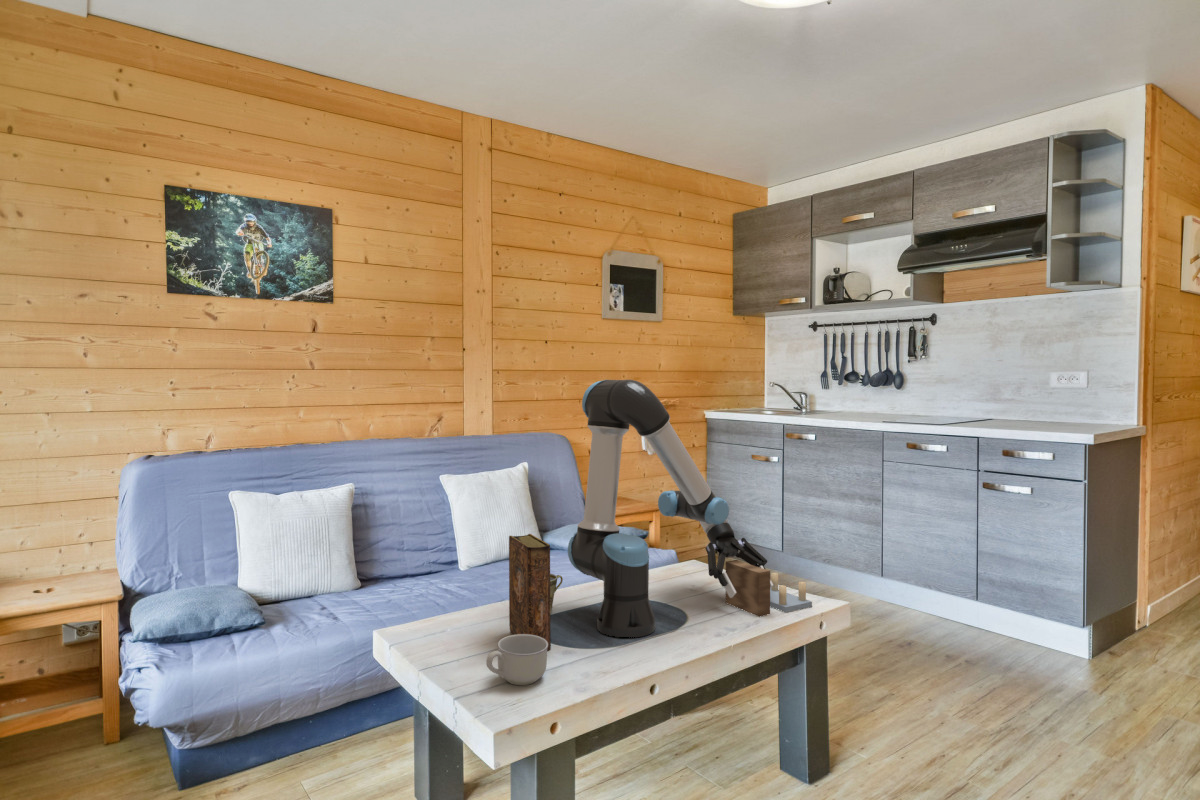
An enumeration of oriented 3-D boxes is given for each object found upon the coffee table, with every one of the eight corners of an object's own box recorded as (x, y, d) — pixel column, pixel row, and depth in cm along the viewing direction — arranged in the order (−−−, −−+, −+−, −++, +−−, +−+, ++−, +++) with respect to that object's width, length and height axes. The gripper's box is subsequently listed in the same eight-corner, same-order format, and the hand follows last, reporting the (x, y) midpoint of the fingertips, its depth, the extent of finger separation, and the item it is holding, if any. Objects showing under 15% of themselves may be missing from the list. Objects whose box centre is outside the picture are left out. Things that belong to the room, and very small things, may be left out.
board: (725, 603, 200) (725, 561, 199) (736, 600, 202) (736, 560, 201) (759, 616, 187) (759, 572, 187) (770, 614, 189) (770, 570, 189)
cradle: (746, 597, 204) (746, 575, 204) (771, 592, 209) (771, 571, 209) (785, 612, 191) (785, 589, 190) (811, 606, 195) (812, 584, 195)
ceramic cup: (535, 621, 184) (535, 584, 184) (514, 612, 192) (514, 576, 192) (573, 611, 193) (573, 575, 192) (551, 603, 200) (551, 568, 200)
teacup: (536, 665, 155) (536, 630, 155) (556, 683, 146) (556, 646, 145) (476, 678, 148) (476, 641, 148) (493, 698, 139) (493, 658, 139)
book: (552, 651, 164) (552, 546, 163) (530, 655, 161) (530, 548, 161) (529, 629, 178) (529, 532, 178) (509, 632, 176) (508, 534, 176)
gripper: (743, 531, 214) (778, 591, 202) (678, 540, 202) (710, 605, 189) (755, 517, 210) (791, 578, 197) (689, 525, 197) (723, 591, 185)
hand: (752, 591), depth 193 cm, fingers open, 13 cm apart
